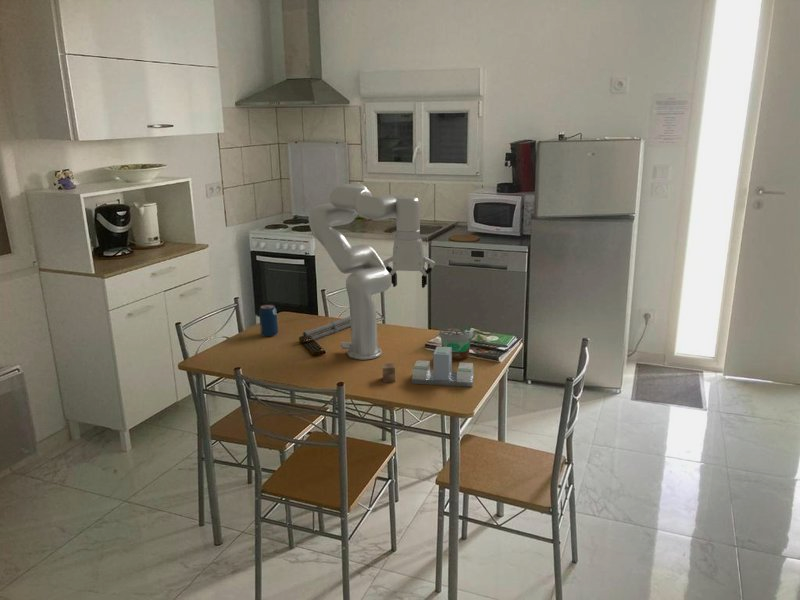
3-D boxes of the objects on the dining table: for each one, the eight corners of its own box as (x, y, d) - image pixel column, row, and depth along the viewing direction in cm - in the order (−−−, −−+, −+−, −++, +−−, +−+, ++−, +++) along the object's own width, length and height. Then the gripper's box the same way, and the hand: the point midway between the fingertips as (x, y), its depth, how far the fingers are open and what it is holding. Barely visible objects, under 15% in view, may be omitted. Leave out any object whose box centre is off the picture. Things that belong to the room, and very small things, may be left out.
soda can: (282, 333, 267) (279, 305, 264) (270, 338, 261) (267, 309, 258) (269, 330, 271) (267, 303, 267) (257, 335, 265) (254, 307, 262)
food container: (439, 362, 233) (439, 335, 230) (438, 355, 239) (438, 329, 236) (474, 361, 232) (474, 335, 230) (472, 355, 238) (473, 329, 236)
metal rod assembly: (307, 344, 255) (307, 332, 253) (303, 343, 256) (302, 330, 255) (354, 327, 273) (353, 316, 272) (349, 326, 275) (348, 314, 274)
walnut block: (383, 382, 217) (382, 368, 215) (382, 377, 221) (382, 363, 219) (395, 381, 217) (394, 367, 216) (394, 377, 221) (394, 363, 219)
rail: (411, 383, 215) (411, 368, 214) (415, 373, 223) (415, 359, 221) (472, 386, 211) (472, 371, 210) (474, 377, 219) (474, 362, 218)
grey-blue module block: (433, 379, 214) (433, 353, 211) (437, 371, 221) (436, 345, 218) (448, 380, 213) (448, 354, 210) (451, 372, 220) (451, 346, 217)
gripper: (379, 237, 210) (381, 288, 215) (433, 238, 207) (433, 290, 212) (384, 232, 217) (386, 282, 222) (436, 233, 214) (436, 284, 219)
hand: (409, 286), depth 217 cm, fingers open, 9 cm apart
